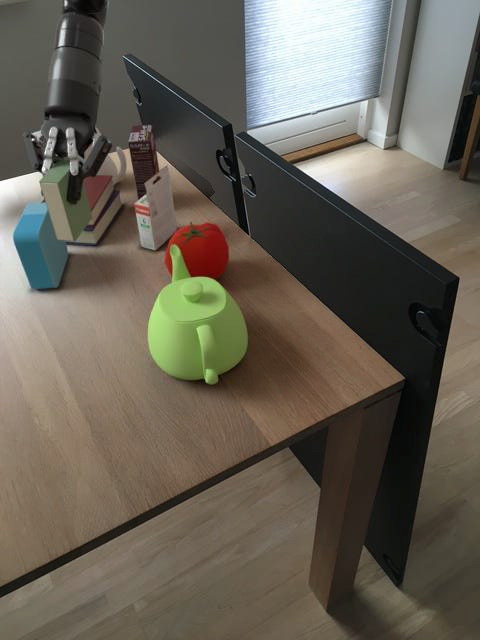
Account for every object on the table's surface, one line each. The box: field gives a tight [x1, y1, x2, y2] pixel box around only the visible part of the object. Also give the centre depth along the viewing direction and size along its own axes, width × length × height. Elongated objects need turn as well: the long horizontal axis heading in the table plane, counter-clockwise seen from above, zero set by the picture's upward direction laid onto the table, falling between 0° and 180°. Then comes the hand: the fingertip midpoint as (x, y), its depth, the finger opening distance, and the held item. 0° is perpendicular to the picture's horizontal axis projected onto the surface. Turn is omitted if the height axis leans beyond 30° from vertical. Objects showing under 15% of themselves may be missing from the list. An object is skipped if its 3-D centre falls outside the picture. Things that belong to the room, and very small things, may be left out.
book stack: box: [40, 175, 124, 247], centre depth 112 cm, size 12×16×7 cm
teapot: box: [147, 244, 249, 385], centre depth 80 cm, size 22×15×13 cm
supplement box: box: [127, 124, 161, 201], centre depth 114 cm, size 9×5×16 cm, turn 4°
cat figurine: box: [86, 126, 128, 187], centre depth 122 cm, size 9×12×15 cm
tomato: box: [164, 220, 230, 281], centre depth 95 cm, size 11×13×10 cm
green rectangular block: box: [38, 159, 92, 241], centre depth 82 cm, size 3×7×10 cm, turn 169°
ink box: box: [133, 165, 178, 251], centre depth 103 cm, size 4×8×15 cm, turn 153°
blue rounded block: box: [12, 202, 69, 290], centre depth 97 cm, size 12×4×12 cm, turn 3°
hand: (60, 201), depth 80 cm, fingers closed on green rectangular block, 3 cm apart
